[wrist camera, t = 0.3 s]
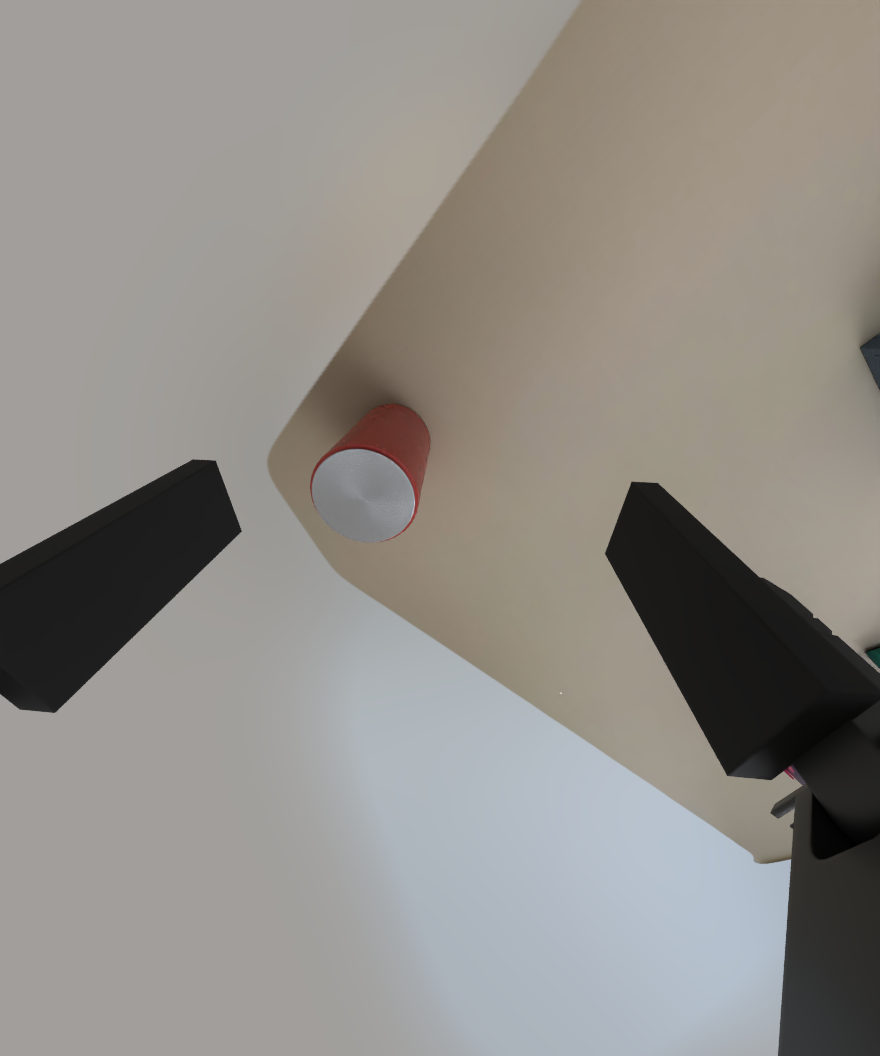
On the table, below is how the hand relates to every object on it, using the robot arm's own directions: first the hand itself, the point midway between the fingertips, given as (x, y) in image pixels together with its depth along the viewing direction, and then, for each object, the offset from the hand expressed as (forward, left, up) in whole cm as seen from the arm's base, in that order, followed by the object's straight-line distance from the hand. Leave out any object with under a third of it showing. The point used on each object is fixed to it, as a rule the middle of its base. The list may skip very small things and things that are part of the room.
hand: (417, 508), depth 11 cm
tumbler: (+1, -5, -20) cm, 21 cm away
